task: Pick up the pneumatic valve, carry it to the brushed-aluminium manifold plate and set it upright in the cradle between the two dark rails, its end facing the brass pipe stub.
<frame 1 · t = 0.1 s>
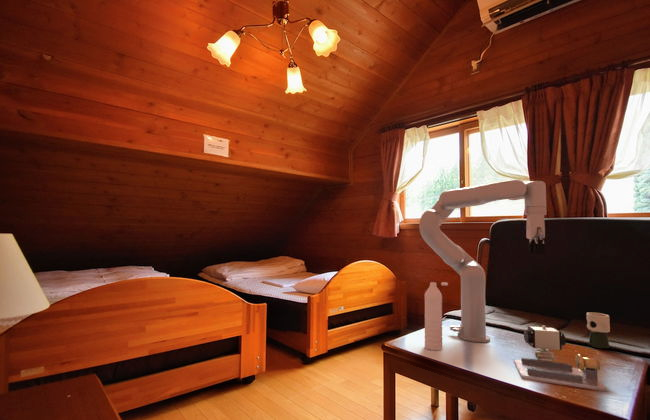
hand: (536, 253, 135), 37 cm above the table, tool pointing down, fingers open, 9 cm apart
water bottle: (436, 348, 127), on the table
manifold plate: (555, 375, 104), on the table
pneumatic valve: (544, 360, 117), on the table
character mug: (599, 348, 132), on the table
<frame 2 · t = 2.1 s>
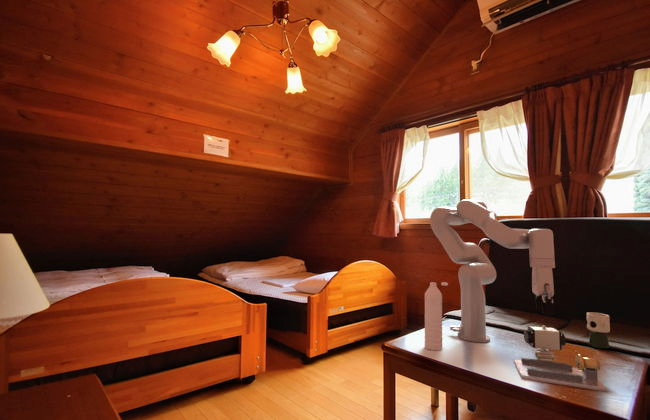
hand: (544, 311, 118), 17 cm above the table, tool pointing down, fingers open, 9 cm apart
nothing on the table moved.
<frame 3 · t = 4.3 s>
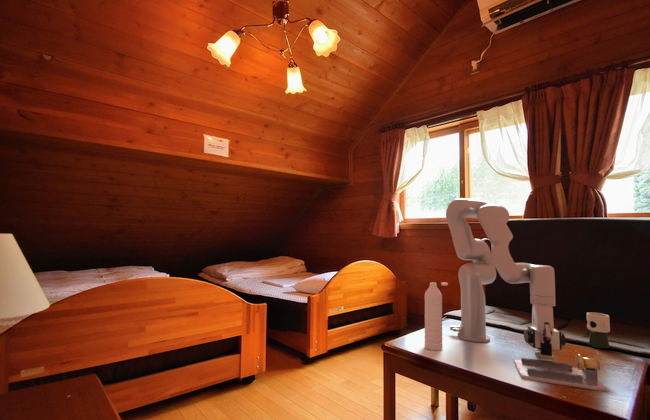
hand: (544, 351, 117), 3 cm above the table, tool pointing down, fingers closed on pneumatic valve, 5 cm apart
pneumatic valve: (544, 360, 117), on the table, touching gripper
everything else where it was.
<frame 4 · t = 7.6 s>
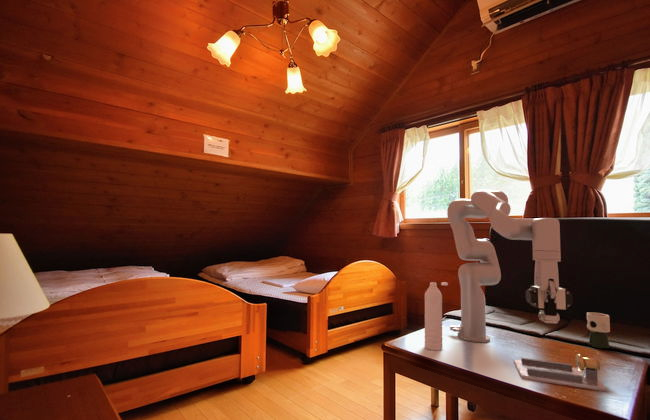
hand: (547, 312, 106), 19 cm above the table, tool pointing down, fingers closed on pneumatic valve, 5 cm apart
pneumatic valve: (548, 322, 106), point 16 cm above the table, touching gripper
everything else where it was.
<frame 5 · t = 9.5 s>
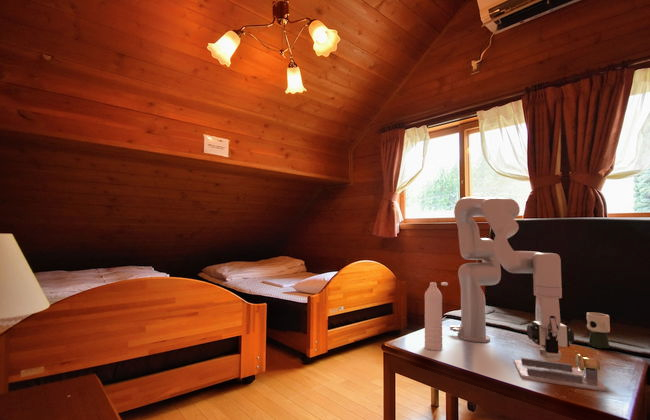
hand: (549, 349, 105), 8 cm above the table, tool pointing down, fingers closed on pneumatic valve, 5 cm apart
pneumatic valve: (550, 359, 105), point 5 cm above the table, touching gripper
everything else where it was.
when the fingers open (6 cm above the table, at t = 10.9 s): pneumatic valve drops 2 cm, resting on manifold plate.
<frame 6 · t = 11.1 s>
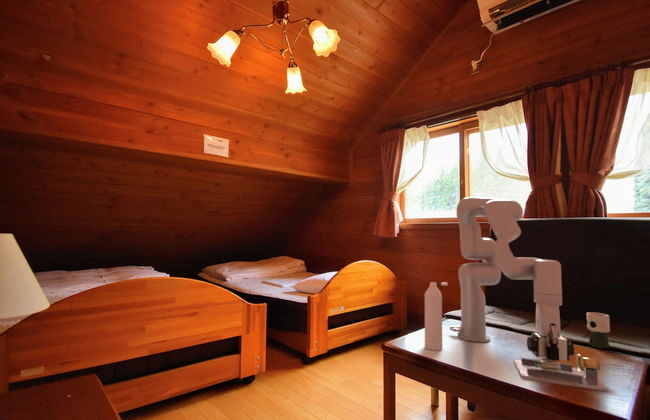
hand: (549, 355, 105), 6 cm above the table, tool pointing down, fingers open, 7 cm apart
pneumatic valve: (549, 371, 105), point 1 cm above the table, touching manifold plate
everything else where it was.
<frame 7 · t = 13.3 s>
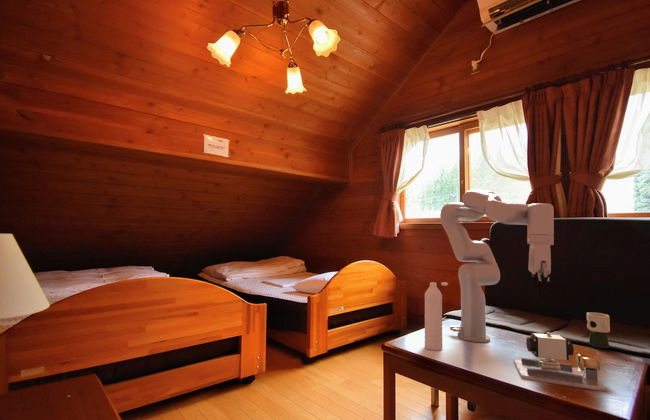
hand: (540, 290, 112), 25 cm above the table, tool pointing down, fingers open, 9 cm apart
nothing on the table moved.
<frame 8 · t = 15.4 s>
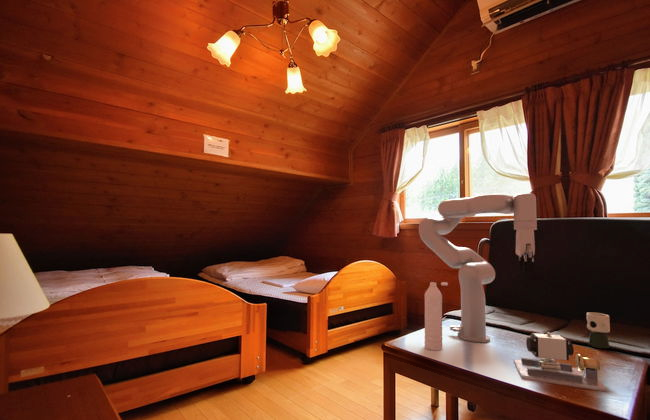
hand: (526, 271, 126), 30 cm above the table, tool pointing down, fingers open, 9 cm apart
nothing on the table moved.
at the end: pneumatic valve 0.2 cm from the target spot on the manifold plate, point 0.8 cm above the manifold plate's base; pneumatic valve tilted 0°; the gripper is holding nothing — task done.
